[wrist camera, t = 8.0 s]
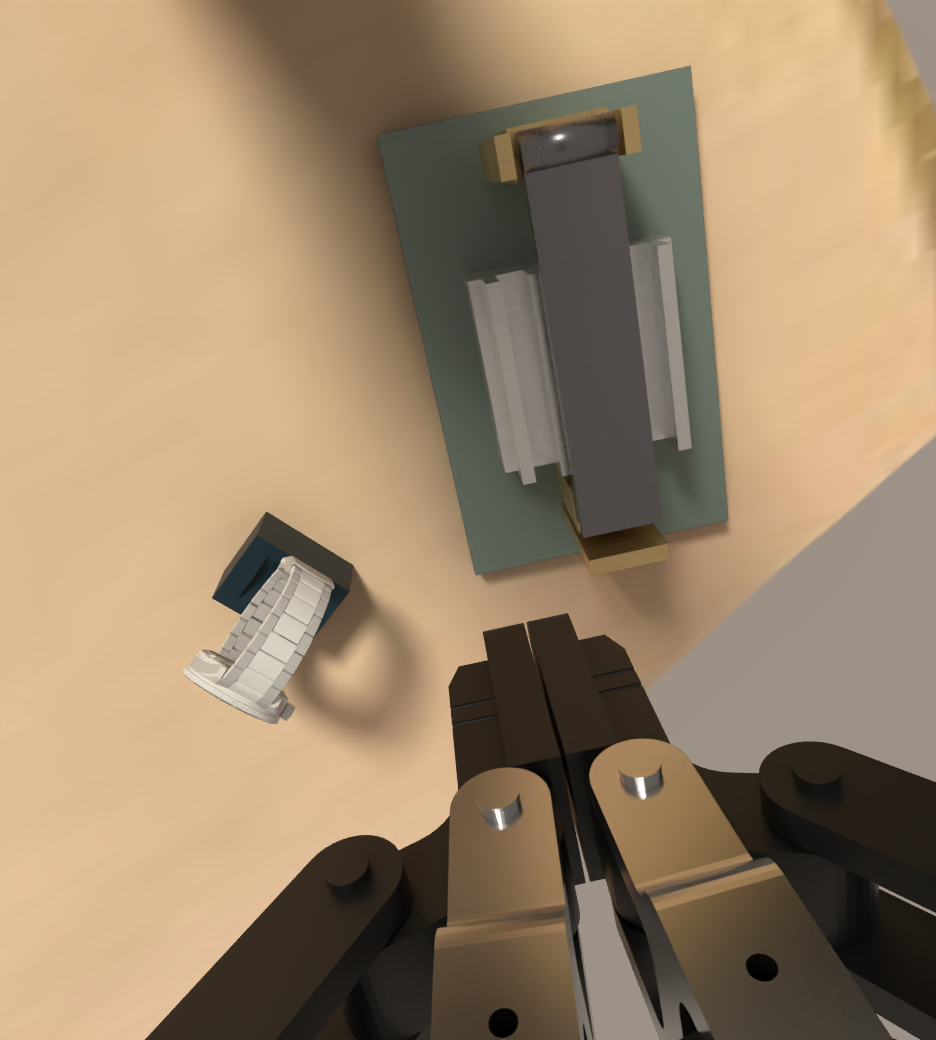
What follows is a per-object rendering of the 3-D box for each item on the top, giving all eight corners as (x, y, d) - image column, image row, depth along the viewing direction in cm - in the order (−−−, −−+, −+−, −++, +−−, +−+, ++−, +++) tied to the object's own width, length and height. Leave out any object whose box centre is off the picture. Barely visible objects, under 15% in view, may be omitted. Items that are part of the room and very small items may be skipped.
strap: (513, 132, 31) (518, 130, 30) (605, 112, 31) (615, 108, 30) (578, 527, 37) (585, 541, 36) (654, 511, 37) (665, 524, 36)
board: (377, 137, 37) (376, 135, 35) (679, 69, 37) (690, 65, 35) (473, 563, 45) (475, 575, 44) (718, 509, 45) (728, 520, 44)
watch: (205, 597, 45) (148, 718, 35) (284, 486, 43) (247, 580, 33) (292, 646, 47) (262, 776, 36) (372, 542, 44) (363, 648, 34)
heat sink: (462, 274, 38) (471, 287, 33) (651, 232, 38) (685, 240, 33) (498, 454, 41) (510, 487, 37) (670, 416, 41) (704, 445, 37)
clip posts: (477, 138, 36) (494, 129, 29) (597, 112, 36) (641, 96, 29) (546, 520, 43) (572, 580, 37) (645, 498, 43) (689, 554, 36)
